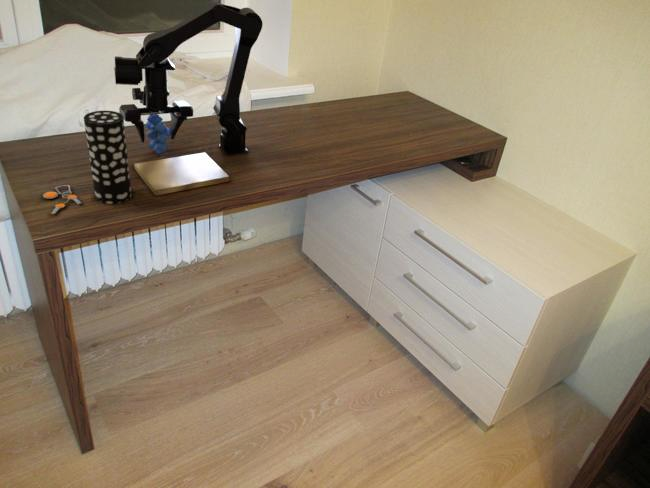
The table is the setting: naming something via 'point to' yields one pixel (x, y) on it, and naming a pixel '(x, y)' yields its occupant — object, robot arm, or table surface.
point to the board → (180, 173)
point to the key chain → (54, 194)
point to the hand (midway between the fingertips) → (157, 140)
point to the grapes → (157, 133)
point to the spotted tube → (108, 156)
